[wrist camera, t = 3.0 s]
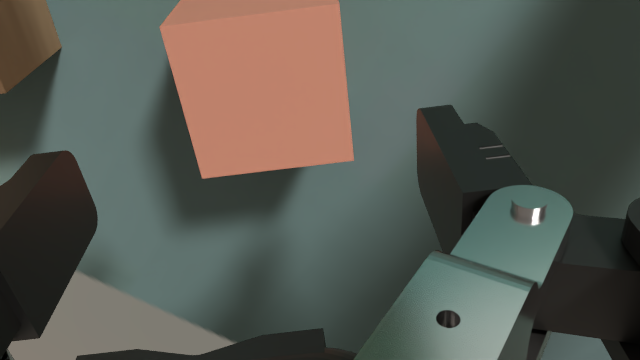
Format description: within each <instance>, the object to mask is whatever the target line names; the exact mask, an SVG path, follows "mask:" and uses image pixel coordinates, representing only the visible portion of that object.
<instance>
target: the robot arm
mask: <svg viewBox="0 0 640 360" xmlns="http://www.w3.org/2000/svg"><path fill="white" fill-rule="evenodd" d="M417 174H418V182H419V188H420V192H421V195H422V198H423V200H424V203H425V206H426V208H427V211H428V213H429V216H430V219H431V221H432V224H433V227H434V229H435V232H436V234H437V237H438V240H439V242H440V245H441V247H442V250H443V252H441V251H438V250H436V251H433V252H432V253H431V254H430V255H429V256H428V257H427V258H426V260H425V261H424V262H423V264H422V265H421V267H420V268H419V269H418V271H417V272H416V273H415V275H414V276H413V278H412V279H411V280H410V282H409V283H408V285H407V286H406V287H405V289H404V290H403V291H402V293H401V294H400V296H399V297H398V298H397V300H396V301H395V302H394V304H393V305H392V307H391V308H390V309H389V311H388V312H387V314H386V315H385V316H384V318H383V319H382V320H381V322H380V323H379V325H378V326H377V327H376V329H375V330H374V331H373V333H372V334H371V336H370V337H369V338H368V340H367V341H366V343H365V344H364V345H363V347H362V348H361V349H360V351H359V352H358V354H356V353H353V352H349V351H345V350H341V349H335V348H328V347H326V344H325V337H324V331H323V328H321V329H312V330H303V331H294V332H285V333H277V334H268V335H261V336H258V337H255V338H252V339H249V340H245V341H242V342H239V343H236V344H233V345H230V346H227V347H224V348H221V349H218V350H214V351H211V352H208V353H205V354H201V355H184V354H175V353H166V352H157V351H149V350H140V349H134V350H126V351H118V352H108V353H99V354H90V355H81V356H77V358H76V360H541V357H542V355H543V352H544V350H545V347H546V345H547V342H548V339H549V337H550V334H551V331H552V332H559V333H566V334H572V335H579V336H586V337H593V338H599V339H601V340H602V342H603V344H604V346H605V348H606V349H607V351H608V353H609V355H610V357H611V358H612V360H640V198H638V199H636V200H635V201H633V202H632V203H631V204H630V205H629V208H628V211H627V215H626V219H618V218H606V217H594V216H585V215H579V214H574V213H573V209H572V206H571V204H570V203H569V202H568V201H567V200H566V199H565V198H564V197H563V196H561V195H560V194H558V193H556V192H554V191H552V190H549V189H546V188H542V187H538V186H533V185H532V184H531V183H530V181H529V180H528V178H527V177H526V176H525V174H524V173H523V172H522V170H521V169H520V168H519V166H518V165H517V163H516V162H515V161H514V159H513V158H512V157H510V154H509V152H508V151H507V150H506V148H505V147H503V146H502V143H501V142H500V140H499V139H498V137H497V136H496V135H495V133H494V132H493V131H491V130H489V129H487V128H485V127H483V126H482V125H480V124H478V123H471V124H464V123H463V122H462V120H461V119H460V117H459V116H458V114H457V112H456V111H455V109H454V108H453V106H452V105H444V106H436V107H427V108H419V109H418V110H417ZM96 228H97V211H96V207H95V204H94V202H93V199H92V197H91V195H90V192H89V190H88V187H87V185H86V183H85V180H84V178H83V175H82V173H81V171H80V168H79V166H78V164H77V161H76V159H75V157H74V156H73V155H72V153H70V152H69V151H57V152H49V153H41V154H33V155H31V156H30V157H29V158H28V159H27V161H26V162H25V163H24V164H23V165H22V166H21V167H20V169H19V170H18V171H17V172H16V173H15V174H14V175H13V177H12V178H11V179H10V180H9V181H7V182H6V183H4V184H3V185H1V186H0V360H14V358H13V357H12V355H11V354H10V352H9V350H8V349H7V348H8V346H9V345H10V343H11V341H19V340H28V339H36V338H40V336H41V334H42V333H43V331H44V329H45V327H46V325H47V323H48V321H49V319H50V318H51V315H52V314H53V312H54V310H55V308H56V306H57V304H58V302H59V300H60V298H61V297H62V295H63V293H64V291H65V289H66V287H67V285H68V283H69V281H70V279H71V277H72V275H73V274H74V272H75V270H76V268H77V266H78V264H79V262H80V260H81V258H82V257H83V255H84V253H85V251H86V249H87V247H88V245H89V243H90V241H91V239H92V237H93V236H94V234H95V231H96Z"/></svg>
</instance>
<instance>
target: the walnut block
mask: <svg viewBox="0 0 640 360" xmlns="http://www.w3.org/2000/svg"><path fill="white" fill-rule="evenodd" d="M60 48H61V44H60V41H59V38H58V35H57V32H56V29H55V26H54V23H53V20H52V17H51V15H50V12H49V9H48V6H47V3H46V0H0V94H2V93H7V92H8V91H9V90H11V89H12V88H13V87H14V86H15V85H17V84H18V83H19V82H20V81H21V80H23V79H24V78H25V77H26V76H27V75H29V74H30V73H31V72H32V71H34V70H35V69H36V68H37V67H38V66H40V65H41V64H42V63H43V62H44V61H46V60H47V59H48V58H49V57H51V56H52V55H53V54H54V53H55V52H57V51H58V50H59V49H60Z"/></svg>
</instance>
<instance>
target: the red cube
mask: <svg viewBox="0 0 640 360" xmlns="http://www.w3.org/2000/svg"><path fill="white" fill-rule="evenodd" d="M160 30H161V34H162V37H163V41H164V44H165V48H166V52H167V55H168V59H169V62H170V66H171V69H172V73H173V76H174V80H175V84H176V87H177V91H178V94H179V98H180V101H181V105H182V109H183V112H184V116H185V119H186V123H187V126H188V130H189V133H190V137H191V141H192V144H193V148H194V151H195V155H196V158H197V162H198V165H199V169H200V173H201V176H202V179H204V178H212V177H221V176H229V175H237V174H246V173H254V172H262V171H271V170H279V169H287V168H296V167H304V166H312V165H321V164H329V163H337V162H346V161H354V156H353V145H352V134H351V124H350V113H349V102H348V92H347V81H346V70H345V60H344V49H343V38H342V28H341V17H340V6H339V1H338V0H180V2H179V3H178V4H177V5H176V7H175V8H174V9H173V10H172V12H171V13H170V14H169V15H168V17H167V18H166V19H165V20H164V22H163V23H162V24H161V25H160Z"/></svg>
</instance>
